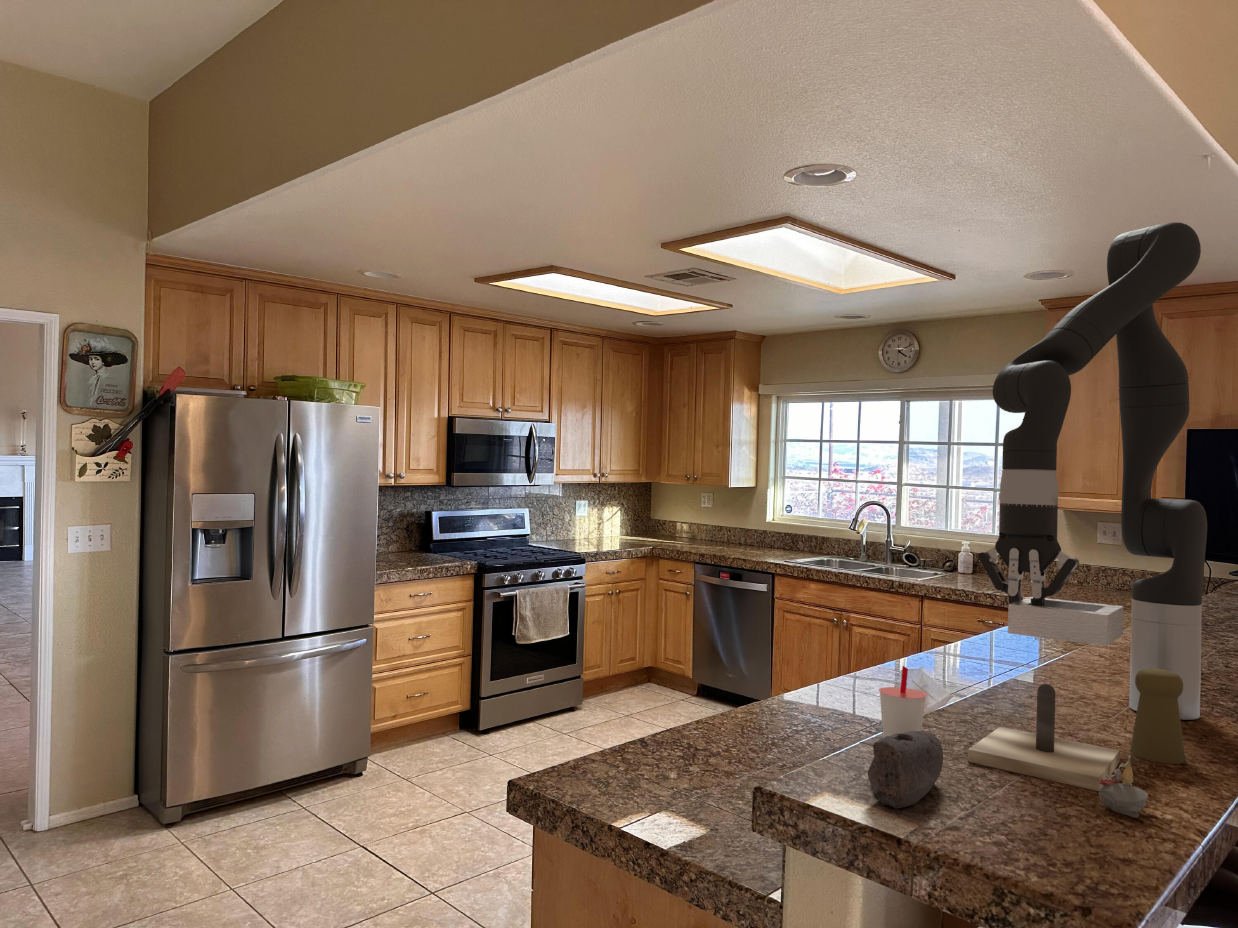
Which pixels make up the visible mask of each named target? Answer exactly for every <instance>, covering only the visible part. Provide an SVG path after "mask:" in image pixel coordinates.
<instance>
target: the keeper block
mask: <svg viewBox="0 0 1238 928" xmlns="http://www.w3.org/2000/svg"><path fill="white" fill-rule="evenodd" d="M1036 691H1037V692H1036V729H1035V733H1033V732H1028V731H1023V730H1020V729H1019V730H1018V729H1013V728H1008V727H1004V726H999V727H997V728H996V729H995V730H993V731H992V732H991V733H989V734H988V735H986V736H985V737H983V738H982V739H980V740H979V741H978V742H976V743H975V744H974V745H972V746H971V747H969V748H968V749H967V750H968V753H967V754H968V755H967V762H969V763H972V764H977V765H981V766H986V767H989V768H990V767H991V768H995V769H998V770H1004V771H1007V772H1012V773H1017V774H1021V775H1025V776H1030V777H1034V778H1039V779H1044V780H1048V781H1052V782H1056V783H1061V784H1064V785H1065V784H1066V785H1070V786H1074V787H1078V788H1082V789H1087V790H1092V791H1097V792H1100V789H1099V788H1100V787H1101V786H1102V785H1101V784H1099V782H1100V778H1108V777H1107V776H1106V774H1105V773H1107V775H1108V776H1109V774H1111V773H1112V772H1113V771H1114V770H1115V771H1116V769H1117V767H1118V765H1120V764H1121V763H1120V758H1121V757H1120V755H1121V754H1120V752H1121V750H1119V749H1114V748H1110V747H1105V746H1100V745H1094V744H1090V743H1085V742H1079V741H1073V740H1068V739H1065V738H1064V739H1063V738H1060V737H1059V738H1058V737H1055V727H1056V726H1055V725H1056V722H1055V721H1056V690H1055V688H1054V687H1053V686H1052V685H1051V684H1048V683H1042V684H1040V685H1039V686H1038V688H1037V690H1036ZM1105 770H1107V771H1105ZM1102 771H1103V772H1102ZM1115 771H1114V772H1115ZM1108 772H1109V774H1108ZM1114 772H1113V773H1114ZM1113 773H1112V774H1113ZM1112 774H1111V775H1112ZM1109 777H1110V776H1109Z"/></svg>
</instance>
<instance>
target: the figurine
mask: <svg viewBox="0 0 1238 928" xmlns="http://www.w3.org/2000/svg"><path fill="white" fill-rule="evenodd" d="M1135 765H1136V756H1135V755H1133V754H1131V755H1129V756H1128V760H1127V761H1126V762H1125V763H1124V762H1123V763H1120V764H1119V766H1118V768H1116V769H1115V770H1114V771H1113V772H1112V773H1111V774H1109V772H1108V774H1109V776H1110V777H1109V776H1108V775H1107V773H1105V774H1106V776H1107V777H1108V778H1100V782H1099V784H1101V785H1102V786H1101V787H1100V788H1099V789H1100V790H1099V791H1098V795H1099V798H1100V802H1101V803H1102V805H1103V806H1107V807H1108V808H1109V809H1111V810H1112V811H1113V812H1114V813H1115V812H1116V813H1118V814H1122V815H1125V816H1128V817H1131V818H1135V819H1138V818H1139V817H1140V813H1139V812H1141V810H1142V809H1144V808H1145V807H1146V806H1147V802H1148V797H1149V793H1147V792H1146V791H1145V790H1143V789H1141V788H1139V787H1137V786H1133V784H1132V783H1134V774H1133V767H1132V766H1135ZM1120 768H1124V770H1123V772H1122V771H1121V770H1120ZM1105 771H1107V770H1105ZM1102 772H1103V771H1102ZM1113 773H1114V774H1113ZM1115 780H1116V781H1118V782H1120V781H1121V782H1120V783H1116V781H1115Z"/></svg>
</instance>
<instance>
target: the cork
mask: <svg viewBox="0 0 1238 928" xmlns="http://www.w3.org/2000/svg"><path fill="white" fill-rule="evenodd" d="M1135 684H1136V688H1137V689H1138V691H1139V692H1140V696H1139V702H1138V708H1137V711H1136V713H1135V719H1134V720H1135V721H1134V724H1133V725H1134V726H1133V730H1132V737H1131V743H1130V747H1129V752H1130V754H1131V755H1134V756H1135V757H1137V758H1140V759H1143V760H1147V761H1151V762H1157V763H1162V764H1170V765H1171V764H1173V765H1177V764H1178V765H1179V764H1180V765H1181V764H1184V763H1186V762H1187V760H1186V754H1185V747H1184V745H1185V744H1184V738H1183V729H1182V722H1181V719H1180V713H1179V706H1178V697H1179V696H1180V695H1181V694H1182V691H1183V681H1182V679H1181V677H1180V676H1179V675H1178V674H1176V673H1174V672H1171V671H1168V670H1164V669H1157V668H1147V669H1142V670H1140V671H1139V672H1138V673H1137V674H1136V677H1135Z"/></svg>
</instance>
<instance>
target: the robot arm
mask: <svg viewBox="0 0 1238 928" xmlns="http://www.w3.org/2000/svg"><path fill="white" fill-rule="evenodd" d="M1201 247H1202V246H1201V242H1200V238H1199V236H1198V234H1197V233H1196V230H1195V229H1194V228H1192V226H1190V225H1188V224H1187V223H1184V222H1177V221H1176V222H1175V221H1173V222H1165V223H1164V222H1163V223H1159V224H1155V225H1152V226H1151V225H1150V226H1147V227H1143V228H1139V229H1134V230H1130V231H1126V232H1122V233H1121V234H1119V235H1117V236H1116V237H1115V238H1114V239H1113V240H1112V241H1111V243H1110V246H1109V248H1108V251H1107V256H1106V273H1107V282H1108V286H1106V287H1105V288H1104V289H1102V290H1100V291H1098V292H1097V293H1095V294H1094V295H1092V296H1091V297H1088V298H1087V299H1086V300H1084V301H1082V302H1081V303H1079V304H1078V305H1076V306H1075V307H1074V308H1072V309H1071V310H1070V311H1068V313H1067V314H1065V316H1063V317H1062V318H1061V319H1060V320H1059V321H1058V322H1057V323H1056V324H1055V325H1054V327H1052V329H1051V330H1050V331H1049V332H1048V333H1047V334H1046V335H1045V336H1044V338H1043V339H1041V340H1039V341H1038V342H1037V343H1035V344H1034V345H1032V346H1030V347H1029V348H1028V349H1026V350H1025V351H1023V352H1022V353H1020V354H1019V355H1018V356H1016V357H1015V358H1014V359H1011V361H1010V362H1008V363H1007V364H1006V365H1005V366H1004V367H1003V368H1002V369H1001V370H1000V371H999V372H998V374H997V375H996V377H995V379H994V381H993V386H992V397H993V400H994V402H995V404H996V406H997V407H998V408H1000V409H1001V410H1002V411H1004V412H1007V413H1011V414H1023V413H1024V414H1023V418H1022V421H1021V424H1020V425H1019V426H1018V427H1016V428H1013V429H1011V430H1009V431H1007V432H1006V433H1005V434H1004V436H1003V440H1002V465H1001V466H1002V467H1001V469H1002V470H1001V478H1000V483H999V484H1000V485H999V493H998V501H999V515H998V516H999V517H998V538H997V541H996V542H995V544H994V547H991V549H988V550H986V551H982V552H980V553H979V554H978V556H977V558H978V560H979V562H980V563H981V565H982V567H983V568H984V570H985V572H986V574H987V575H988V577H989V579H990V581H991V583H992V585H993V586H994V588H995V590H997V591H1001V592H1003V593H1006V594H1007V595H1008V605H1009V604H1011V603H1014V602H1016V601H1020V600H1023V599H1024V598H1023V597H1024V596H1023V595H1021V593H1022V586H1023V585H1022V584H1023V579H1024V574H1025V573H1024V572H1026V573H1029V574H1030V582H1031V595H1032V596H1031V597H1033V598H1031V602H1032V605H1035V606H1044V603H1045V598H1048V597H1051V596H1054V595H1057V594H1059V592H1060V591H1061V590H1062V588H1063V587H1064V585H1065V584H1066V583H1067V581H1068V580H1069V579H1070V577H1071V576H1072V574H1073V573H1074V571H1076V569H1077V567H1078V566H1079V564H1080V560H1079V559H1078V558H1076V557H1071V556H1070V555H1068V554H1066V553H1064V552H1063V551H1062V547H1061V545H1060V543H1059V541H1058V523H1059V522H1058V517H1059V516H1058V515H1059V514H1058V512H1059V510H1058V509H1059V482H1058V476H1057V473H1058V472H1057V464H1058V463H1057V457H1058V455H1057V454H1058V453H1057V451H1058V440H1059V437H1060V434H1061V432H1062V428H1063V425H1064V421H1065V419H1066V415H1067V413H1068V409H1069V404H1070V402H1071V401H1070V400H1071V395H1072V384H1071V379H1070V376H1072V375H1074V374H1077V373H1079V372H1080V371H1081V370H1083V369H1084V368H1085V367H1086V366H1087V365H1088V364H1089V363H1090V362H1091V361H1092V360H1093V359H1094V358H1095V357H1096V356H1097V354H1099V352H1100V351H1101V350H1103V348H1104V347H1105V346H1107V344H1108V343H1109V342H1110V341H1111V339H1113V338H1114V337H1116V338H1115V339H1116V351H1117V366H1118V400H1119V401H1118V402H1119V416H1120V429H1121V441H1122V442H1121V443H1122V445H1121V446H1122V482H1121V483H1122V485H1121V509H1120V510H1121V515H1120V517H1121V519H1120V521H1121V522H1120V524H1121V525H1120V526H1121V527H1120V528H1121V537H1122V542H1123V545H1124V548H1125V549H1126V551H1128V552H1129V553H1130V554H1132V555H1134V556H1141V557H1151V558H1152V557H1153V558H1163V559H1164V558H1166V559H1173V561H1172V565H1171V568H1169V569H1168V570H1167V571H1165V572H1163V573H1160V574H1158V575H1154V576H1151V577H1150V576H1149V577H1145V578H1142V579H1137V580H1135V581H1133V583H1132V585H1131V610H1130V611H1131V616H1130V617H1131V622H1130V631H1131V632H1130V665H1129V666H1130V668H1129V698H1128V699H1129V703H1128V704H1129V705H1128V706H1129V709H1131V710H1133V711H1135V712H1137V708H1138V702H1139V696H1140V692H1139V691H1138V689H1137V688H1136V684H1135V677H1136V674H1137V673H1138V672H1139V671H1140V670H1142V669H1147V668H1157V669H1164V670H1168V671H1171V672H1174V673H1176V674H1178V675H1179V676H1180V677H1181V679H1182V681H1183V691H1182V694H1181V695H1180V696H1179V697H1178V706H1179V713H1180V720H1189V721H1192V720H1198V719H1199V718H1200V716H1201V715H1200V714H1201V713H1200V712H1201V676H1202V675H1201V671H1202V670H1201V669H1202V668H1201V667H1202V617H1203V616H1202V614H1203V611H1202V609H1203V608H1202V607H1203V589H1204V582H1205V581H1204V580H1205V561H1206V550H1207V549H1206V548H1207V540H1208V537H1207V536H1208V518H1207V513H1206V510H1205V507H1204V506H1203V505H1202V503H1200V502H1199V501H1197V500H1192V499H1182V498H1181V499H1180V498H1179V499H1177V498H1176V499H1174V498H1152V486H1153V479H1154V476H1155V473H1156V470H1157V467H1158V466H1159V464H1160V462H1161V461H1162V459H1163V457H1164V455H1165V454H1166V452H1167V450H1168V449H1169V448H1170V446H1171V445H1172V443H1173V442H1175V439H1176V438H1177V437H1178V435H1179V433H1181V431H1182V429H1183V428H1184V426H1185V424H1186V422H1187V420H1188V418H1189V415H1190V388H1189V387H1190V386H1189V385H1190V384H1189V374H1188V373H1189V372H1188V369H1187V367H1186V365H1185V363H1184V360H1183V359H1182V357H1181V356H1180V355H1179V353H1178V352H1177V350H1176V349H1175V347H1174V346H1173V345H1172V343H1171V342H1170V340H1169V338H1167V337H1166V335H1165V333H1163V331H1162V329H1161V328H1160V326H1159V324H1158V322H1157V321H1158V320H1157V319H1156V315H1155V311H1154V303H1155V302H1157V301H1158V300H1159V299H1161V298H1162V297H1163V296H1164V295H1166V294H1167V293H1169V292H1170V291H1172V290H1173V289H1174V288H1176V287H1178V285H1180V284H1181V283H1183V282H1184V281H1185V280H1186V279H1187V278H1188V277H1189V276H1191V274H1193V273H1194V271H1195V270H1196V268H1197V266H1198V264H1199V261H1200V258H1201V253H1202V251H1201ZM998 556H999V557H1000V558H1001V559H1002V561H1003V562H1004V564H1005V565H1006V566H1007V568H1008V574H1007V575H1008V576H1007V578H1008V581H1007V579H1006V578H1005V576H1004V574H1003V572H1002V571H1001V569H1000V567H999V565H998V564H997V563H998V562H999V557H998ZM1056 559H1057V560H1058V562H1057V565H1056V566H1057V568H1058V569H1059V570H1058V572H1057V574H1056V575H1055V576H1054V578H1053V579H1052V580H1051V581H1050V583H1049V585H1048V586H1047V587H1046V577H1047V576H1046V571H1047V570H1048V568H1050V566H1051V565H1052V564H1053V563H1054V562H1055V560H1056Z"/></svg>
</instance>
